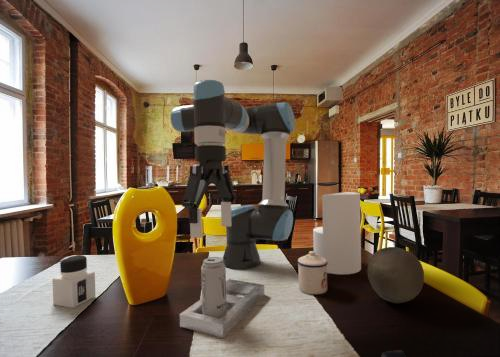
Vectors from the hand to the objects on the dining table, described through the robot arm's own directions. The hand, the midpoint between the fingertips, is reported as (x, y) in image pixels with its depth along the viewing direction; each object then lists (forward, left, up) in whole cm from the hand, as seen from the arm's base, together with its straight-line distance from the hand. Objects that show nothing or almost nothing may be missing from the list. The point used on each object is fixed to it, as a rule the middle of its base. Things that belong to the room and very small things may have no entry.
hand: (212, 231), depth 70 cm
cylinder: (-52, +22, -22) cm, 61 cm away
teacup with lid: (-29, +18, -22) cm, 41 cm away
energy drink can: (0, 0, -22) cm, 22 cm away
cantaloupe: (-27, +41, -22) cm, 54 cm away
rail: (-6, 0, -22) cm, 23 cm away
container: (+7, -44, -22) cm, 50 cm away
